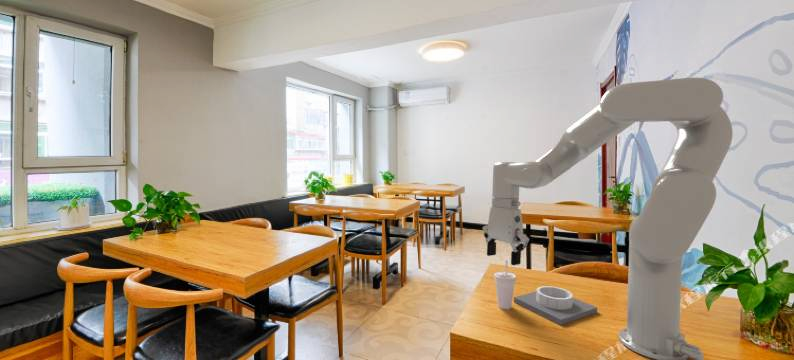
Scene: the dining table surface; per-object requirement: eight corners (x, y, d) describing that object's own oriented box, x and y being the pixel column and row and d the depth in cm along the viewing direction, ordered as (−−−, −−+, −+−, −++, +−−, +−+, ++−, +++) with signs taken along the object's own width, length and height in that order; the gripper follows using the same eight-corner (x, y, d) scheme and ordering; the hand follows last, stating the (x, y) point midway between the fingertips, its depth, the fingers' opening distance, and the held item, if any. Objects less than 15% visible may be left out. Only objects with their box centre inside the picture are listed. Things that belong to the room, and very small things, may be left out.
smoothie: (520, 309, 92) (521, 262, 92) (503, 313, 90) (503, 265, 89) (505, 300, 98) (506, 256, 97) (489, 304, 96) (489, 259, 95)
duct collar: (597, 312, 90) (597, 297, 90) (560, 325, 83) (561, 308, 83) (548, 292, 104) (548, 279, 104) (513, 301, 97) (514, 287, 97)
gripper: (538, 206, 87) (535, 266, 88) (493, 199, 102) (491, 250, 103) (519, 208, 83) (516, 270, 84) (475, 200, 99) (474, 253, 100)
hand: (503, 259), depth 94 cm, fingers open, 9 cm apart
